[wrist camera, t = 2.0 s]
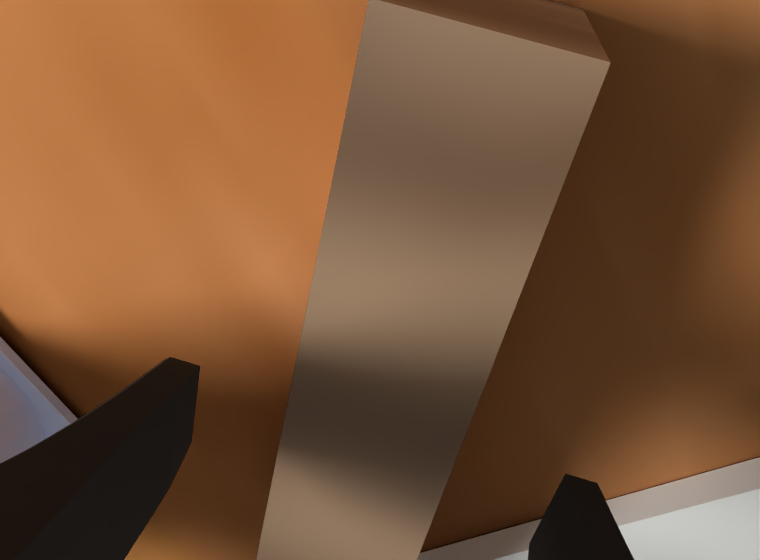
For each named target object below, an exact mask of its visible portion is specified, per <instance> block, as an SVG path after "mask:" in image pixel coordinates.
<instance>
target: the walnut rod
mask: <svg viewBox="0 0 760 560" xmlns="http://www.w3.org/2000/svg"><path fill="white" fill-rule="evenodd" d="M610 63H611V62H610V60H609V58H608V56H607V54H606V52H605V50H604V48H603V46H602V44H601V43H600V41H599V39H598V37H597V35H596V33H595V31H594V29H593V27H592V25H591V23H590V21H589V20H588V18H587V16H586V14H585V12H584V10H583V9H581V8H578V7H574V6H570V5H566V4H562V3H559V2H555V1H551V0H369V1H368V6H367V11H366V16H365V21H364V26H363V31H362V36H361V40H360V45H359V50H358V55H357V60H356V65H355V70H354V75H353V80H352V85H351V90H350V95H349V100H348V105H347V110H346V115H345V120H344V125H343V130H342V135H341V140H340V145H339V150H338V155H337V160H336V165H335V170H334V175H333V180H332V185H331V190H330V195H329V200H328V205H327V210H326V215H325V220H324V225H323V230H322V235H321V239H320V244H319V249H318V254H317V259H316V264H315V269H314V274H313V279H312V284H311V289H310V294H309V299H308V304H307V309H306V314H305V319H304V324H303V329H302V334H301V339H300V344H299V349H298V354H297V359H296V364H295V369H294V374H293V379H292V384H291V389H290V394H289V399H288V404H287V409H286V414H285V419H284V424H283V429H282V434H281V438H280V443H279V448H278V453H277V458H276V463H275V468H274V473H273V478H272V483H271V488H270V493H269V498H268V503H267V508H266V513H265V518H264V523H263V528H262V533H261V538H260V543H259V548H258V553H257V558H256V560H417V558H418V556H419V553H420V551H421V548H422V546H423V543H424V540H425V538H426V535H427V533H428V530H429V528H430V525H431V522H432V520H433V517H434V515H435V512H436V510H437V507H438V504H439V502H440V499H441V497H442V494H443V492H444V489H445V487H446V484H447V481H448V479H449V476H450V474H451V471H452V469H453V466H454V463H455V461H456V458H457V456H458V453H459V451H460V448H461V445H462V443H463V440H464V438H465V435H466V433H467V430H468V428H469V425H470V422H471V420H472V417H473V415H474V412H475V410H476V407H477V404H478V402H479V399H480V397H481V394H482V392H483V389H484V387H485V384H486V381H487V379H488V376H489V374H490V371H491V369H492V366H493V363H494V361H495V358H496V356H497V353H498V351H499V348H500V345H501V343H502V340H503V338H504V335H505V333H506V330H507V328H508V325H509V322H510V320H511V317H512V315H513V312H514V310H515V307H516V304H517V302H518V299H519V297H520V294H521V292H522V289H523V286H524V284H525V281H526V279H527V276H528V274H529V271H530V269H531V266H532V263H533V261H534V258H535V256H536V253H537V251H538V248H539V245H540V243H541V240H542V238H543V235H544V233H545V230H546V228H547V225H548V222H549V220H550V217H551V215H552V212H553V210H554V207H555V204H556V202H557V199H558V197H559V194H560V192H561V189H562V186H563V184H564V181H565V179H566V176H567V174H568V171H569V169H570V166H571V163H572V161H573V158H574V156H575V153H576V151H577V148H578V145H579V143H580V140H581V138H582V135H583V133H584V130H585V127H586V125H587V122H588V120H589V117H590V115H591V112H592V110H593V107H594V104H595V102H596V99H597V97H598V94H599V92H600V89H601V86H602V84H603V81H604V79H605V76H606V74H607V71H608V69H609V66H610Z"/></svg>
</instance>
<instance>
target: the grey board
mask: <svg viewBox="0 0 760 560" xmlns="http://www.w3.org/2000/svg"><path fill="white" fill-rule="evenodd" d="M606 502H607V504H608V506H609V508H610V511H611V513H612V515H613V517H614V519H615V521H616V523H617V525H618V527H619V529H620V532H621V534H622V536H623V538H624V540H625V542H626V544H627V546H628V548H629V550H630V552H631V554H632V556H633V558H634V560H760V457H759V458H755V459H751V460H748V461H744V462H741V463H737V464H734V465H730V466H727V467H723V468H720V469H716V470H712V471H709V472H705V473H702V474H698V475H695V476H691V477H688V478H684V479H681V480H677V481H673V482H670V483H666V484H663V485H659V486H656V487H652V488H649V489H645V490H642V491H638V492H635V493H631V494H627V495H624V496H620V497H617V498H613V499H610V500H606ZM541 520H542V519H539V520H535V521H532V522H528V523H525V524H521V525H518V526H514V527H510V528H507V529H503V530H500V531H496V532H493V533H489V534H486V535H482V536H479V537H475V538H472V539H468V540H464V541H461V542H457V543H454V544H450V545H447V546H443V547H440V548H436V549H433V550H429V551H425V552H422V553H419V556H418V558H417V560H528V551H529V543H530V541H531V539H532V537H533V535H534V533H535V531H536V529H537V527H538V525H539V523H540V522H541Z"/></svg>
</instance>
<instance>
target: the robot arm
mask: <svg viewBox="0 0 760 560" xmlns="http://www.w3.org/2000/svg"><path fill="white" fill-rule="evenodd" d="M199 371H200V366H198V365H195V364H192V363H188V362H185V361H181V360H178V359H175V358H171V357H169V358H167V359H165V360H163V361H162V362H161V363H159V364H158V365H157V366H155V367H154V368H152V369H151V370H150V371H148V372H147V373H145V374H144V375H143V376H141V377H140V378H139V379H137V380H136V381H134V382H133V383H132V384H130V385H129V386H127V387H126V388H124V389H123V390H122V391H120V392H119V393H117V394H116V395H114V396H113V397H111V398H110V399H108V400H107V401H105V402H104V403H102V404H101V405H99V406H98V407H96V408H95V409H93V410H92V411H90V412H89V413H87V414H86V415H84V416H82V417H81V418H79V419H77V417H76V416H75V415H74V414H73V413H72V412H71V411H70V410H69V409H68V408H67V407H66V406H65V405H64V404H63V403H62V402H61V401H60V399H59V398H58V397H57V396H56V395H55V394H54V393H53V392H52V391H51V390H50V389H49V388H48V387H47V386H46V385H45V384H44V383H43V381H42V380H41V379H40V378H39V377H38V376H37V375H36V374H35V373H34V372H33V371H32V370H31V369H30V368H29V367H28V366H27V365H26V363H25V362H24V361H23V360H22V359H21V358H20V357H19V356H18V355H17V354H16V353H15V352H14V351H13V350H12V349H11V348H10V347H9V345H8V344H7V343H6V342H5V341H4V340H3V339H2V338H1V337H0V560H124V559H125V557H126V556H127V554H128V553H129V551H130V550H131V548H132V546H133V545H134V543H135V542H136V540H137V539H138V537H139V535H140V534H141V532H142V531H143V529H144V528H145V526H146V525H147V523H148V521H149V520H150V518H151V517H152V515H153V513H154V512H155V510H156V509H157V507H158V506H159V504H160V502H161V501H162V499H163V498H164V496H165V494H166V493H167V491H168V490H169V488H170V486H171V484H172V482H173V480H174V478H175V476H176V474H177V472H178V470H179V467H180V465H181V463H182V461H183V459H184V457H185V455H186V453H187V450H188V448H189V446H190V444H191V441H192V433H193V424H194V415H195V406H196V398H197V389H198V380H199ZM528 560H634V558H633V556H632V554H631V552H630V550H629V548H628V546H627V544H626V542H625V540H624V538H623V536H622V534H621V532H620V529H619V527H618V525H617V523H616V521H615V519H614V517H613V515H612V513H611V511H610V508H609V506H608V504H607V502H606V500H605V498H604V496H603V494H602V492H601V490H600V488H599V486H598V484H597V483H595V482H592V481H588V480H585V479H582V478H578V477H575V476H571V475H568V474H565V476H564V478H563V479H562V481H561V483H560V485H559V487H558V489H557V491H556V493H555V495H554V497H553V499H552V500H551V502H550V504H549V506H548V508H547V510H546V512H545V514H544V516H543V518H542V520H541V522H540V523H539V525H538V527H537V529H536V531H535V533H534V535H533V537H532V539H531V541H530V543H529V551H528Z"/></svg>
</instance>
